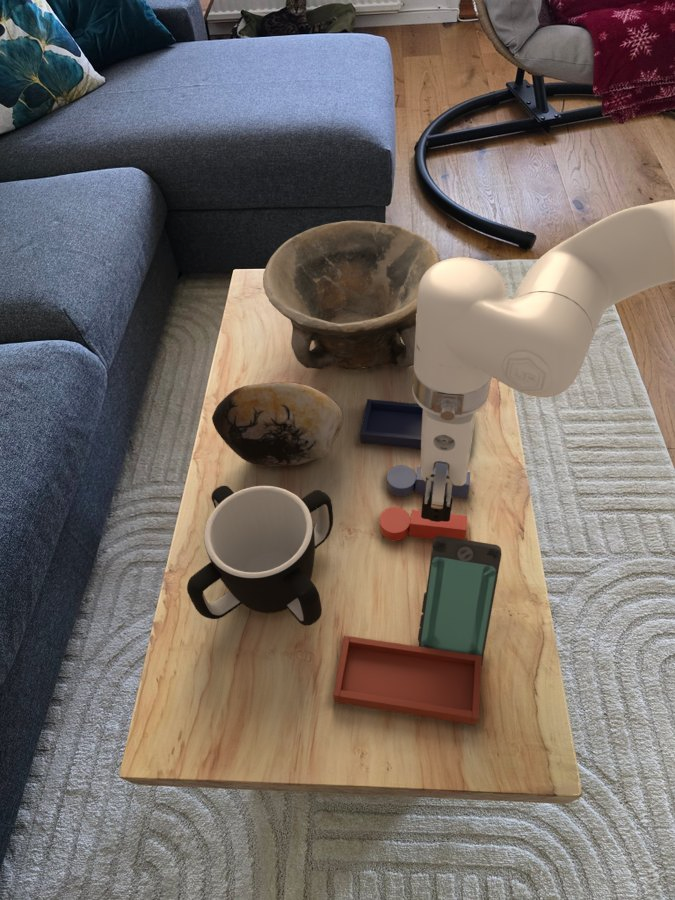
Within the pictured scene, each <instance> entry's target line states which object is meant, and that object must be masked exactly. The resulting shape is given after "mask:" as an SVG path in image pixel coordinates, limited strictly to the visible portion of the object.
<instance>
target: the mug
mask: <svg viewBox="0 0 675 900" xmlns="http://www.w3.org/2000/svg"><path fill="white" fill-rule="evenodd" d="M210 498H211V501H212V504H213V507H214V509H213V510H212V512H211V514H210V516H209V517H208V519H207V522H206V525H205V527H204V532H203V543H204V548H205V551H206V554H207V556H208V558H209V561H210V562H209V563H207V564H206V565H204V566H203V567H202V568H201V569H199V570H198V571H197V572H195V573H194V574H193V575H191V577H190V578H189V579H188V581H187V585H186V590H187V591H186V592H187V595H188V597H189V599H190V601H191V603H192V604H193V607H194V609H195V610H196V611H197V612H198V613H199V614H200V615H201V616H202V617H204V618H207V619H210V620H219V619H222V618H224V617H226V616H227V615H228V614H230V613H231V612H233V611H234V610H236V609H237V608H239V607H240V606H241V605H243V606H244V607H246V608H248V609H249V610H252V611H254V612H257V613H262V614H275V613H281V612H283V611H285V610H288V611H289V612H290V613H291V615H292V616H293V617H294V618H295V619H296V620H297V621H298V623H300V624H301V625H302V626H304V627H308V626H309V627H310V626H312V625H314V624H316V622H317V621H319V620H320V618H321V616H322V611H323V608H322V601H321V597H320V593H319V592H320V591H319V590H318V588H317V587H316V585H315V584H314V582H313V581H312V576H313V572H314V571H313V570H314V565H315V555H316V554H315V553H316V549H317V548H319V547H321V545H322V544H323V543H325V541H326V540H327V539H328V538H329V536H330V535H331V532H332V529H333V526H334V510H333V509H334V508H333V502H332V499H331V497H330V495H328V493H326V492H325V491H323V490H322V489H321V490H320V489H314V490H312V491H311V492H309V493H308V494H306V495H305V496H303V497H301V498H300V496H298V495H296V494H295V493H294V492H291V491H289V490H288V489H284V488H282V487H278V486H273V485H257V486H256V485H255V486H250V487H246V488H243V489H241V490H238V491H236V492H234V491H233V490H232V488H231V487H230V486H228V485H220V486H218V487H216V488H215V489H214V490H213V491H212V493H211V497H210ZM316 510H317V513H318V514H317V515H318V516H317V520H316V523H315V525H314V521H313V518H312V513H313V512H315V511H316ZM218 580H220V581H221V582H222V584H223V585H224V586H225V587H226V589H227V590H228V591H227V592H225V593H224V594H223V595H221V596H220V597H218V598H217V599H215V600H213V601H211V602H208V600H207V598H206V595H205V594H204V591H206V590H207V589H208V588H209V587H211V586H212V585H213V584H215V583H217V582H218Z"/></svg>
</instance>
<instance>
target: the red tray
mask: <svg viewBox="0 0 675 900" xmlns="http://www.w3.org/2000/svg"><path fill="white" fill-rule="evenodd" d="M339 656H340V657H339V662H338V667H337V672H336V677H335V684H334V688H333V694H332V696H333V702H334V703H338V704H343V705H344V704H345V705H349V706H357V707H361V708H368V709H375V710H381V711H386V712H393V713H399V714H406V715H411V716H417V717H418V716H419V717H424V718H430V719H436V720H441V721H449V722H455V723H462V724H467V725H472V726H477V725H478V722H479V719H480V718H479V717H480V700H481V682H482V681H481V680H482V679H481V678H482V666H481V662H482V656H480V655H473V654H466V653H459V652H453V651H446V650H439V649H432V648H425V647H419V645H418V646H417V645H410V644H404V643H397V642H391V641H384V640H378V639H377V640H376V639H372V638H371V639H370V638H363V637H358V636H357V637H356V636H349V635H344V636H343V640H342V646H341V651H340V655H339ZM482 663H483V662H482Z"/></svg>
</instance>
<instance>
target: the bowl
mask: <svg viewBox="0 0 675 900" xmlns="http://www.w3.org/2000/svg"><path fill="white" fill-rule="evenodd" d="M440 261H441V257H440V254H439V252H438V251H437V249H436V248H435V247H434V246H433V245H432V244H431V242H429V241H428V240H427V238H425V237H424V236H422V235H420V234H418V233H415V232H413V231H411V230H410V229H407V228H405V227H402V226H400V225H397V224H391V223H385V222H378V221H367V220H345V221H339V222H338V221H336V222H331V223H325V224H321V225H319V226H315V227H311V228H309V229H307V230H305V231H302V232H301V233H298V234H296V235H294V236H293V237H290V238H289V239H288V240H286V241H285V242H284V243H282V244H281V245H280V246H279V247H278V248H277V249H276V250H275V251H274V253H273V254H272V255H271V256H270V258H269V260H268V262H267V264H266V266H265V268H264V271H263V275H262V285H263V290H264V294H265V295H266V297H267V299H268V301H269V303H271V306H273V307H274V308H275V309H276V310H277V311H278V312H279V313H280V314H281V315H282V316H284V317H285V318H287V319H288V320H289V321H290V323H291V326H292V331H291V341H290V342H291V343H290V344H291V349H292V351H293V354H294V356H295V358H296V360H297V361H298V363H300V364H301V365H302V366H303V367H305V368H307V369H314V370H322V369H326V368H329V367H332V366H334V365H335V366H337V367H340V368H345V369H349V370H357V369H359V370H360V369H366V368H368V369H369V368H372V367H374V366H379V365H381V364H387V365H393V366H394V367H395V366H396V367H400V368H410V367H414V351H415V333H416V315H417V298H418V289H419V284H420V281H421V279H422V277H423V275H424V274H425V272H426V271H427V270H428V269H429V268H430V267H432V266H433V265H434V264H436V263H438V262H440ZM312 342H313V343H314V347H313V349H311V345H312Z"/></svg>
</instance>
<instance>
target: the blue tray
mask: <svg viewBox="0 0 675 900" xmlns="http://www.w3.org/2000/svg"><path fill="white" fill-rule="evenodd" d="M363 413H364V414H363V418H362V422H361V428H360V432H359V438H360V439H359V440H360V441H359V442H360V444H363V445H366V444H367V445H375V446H383V447H395V448H403V449H404V448H405V449H414V450H415V449H416V450H421V433H422V414H423V408H421V407H420V406H419V405H418V403H417V402H416V403H415V402H405V401H404V402H403V401H393V400H382V399H373V398H372V399H370V398H367V399H366V404H365V409H364V412H363Z"/></svg>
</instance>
